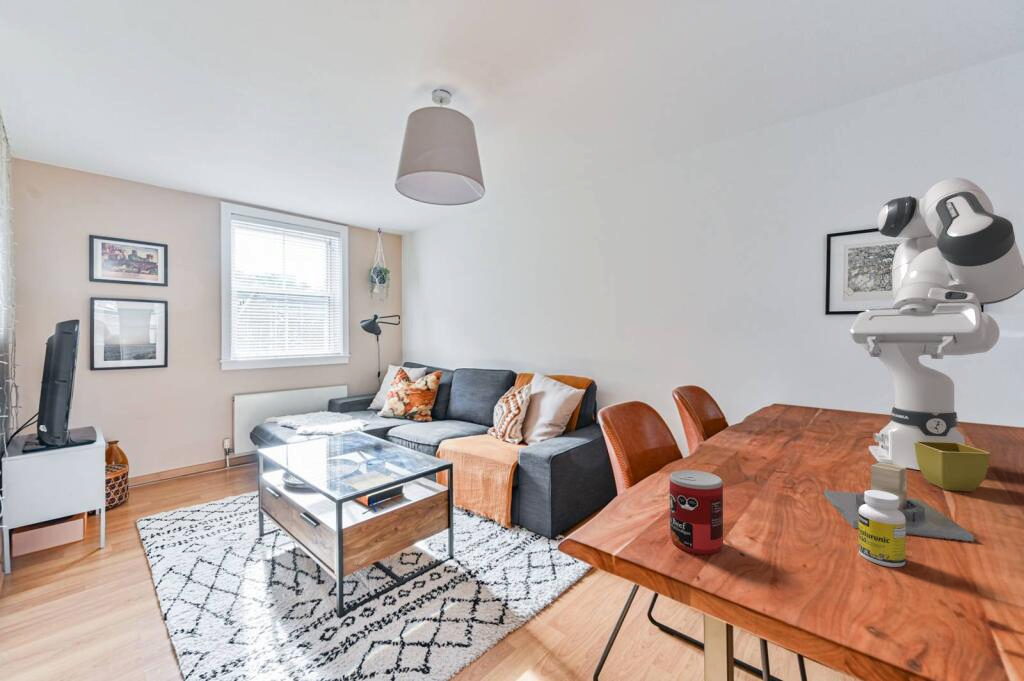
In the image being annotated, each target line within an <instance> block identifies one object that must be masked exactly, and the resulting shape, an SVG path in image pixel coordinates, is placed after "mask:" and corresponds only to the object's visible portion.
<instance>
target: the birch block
mask: <svg viewBox="0 0 1024 681" xmlns="http://www.w3.org/2000/svg"><path fill="white" fill-rule="evenodd" d="M907 487H908V486H907V467H902V466H898V465H894V464H889V463H883V462H879V461H877V462H876V463H874V464H872V465H870V490H878V491H884V492H888V493H891V494H894V495H896V496H898V497H899V508H897V509H907V498H908V497H907V490H908V489H907Z"/></svg>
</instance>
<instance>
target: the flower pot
mask: <svg viewBox="0 0 1024 681" xmlns="http://www.w3.org/2000/svg"><path fill="white" fill-rule="evenodd" d="M914 444H915V451H916V457H917V463H918V466H919V468H920V470H919V471H920V472H921V474H922V475H923V477H924V479H925V480H926V481H927V482H928V483H930V484H932V485H934V486H936V487H938V488H940V489H942V490H945V491H955V492H956V491H957V492H958V491H959V492H974V491H975V490H977V489H978V487H980V486H981V484H982V483H983V482H984V480H985V479H986V477H987V472H988V469H989V465H990V461H991V460H990V458H991V456H992V455H991V454H992V453H991V452H988V451H985V450H984V449H983V450H982V449H979V448H976V447H973V446H970V445H967V444H965V443H964V444H965V445H964V444H960V443H953V442H923V441H915V442H914Z"/></svg>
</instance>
